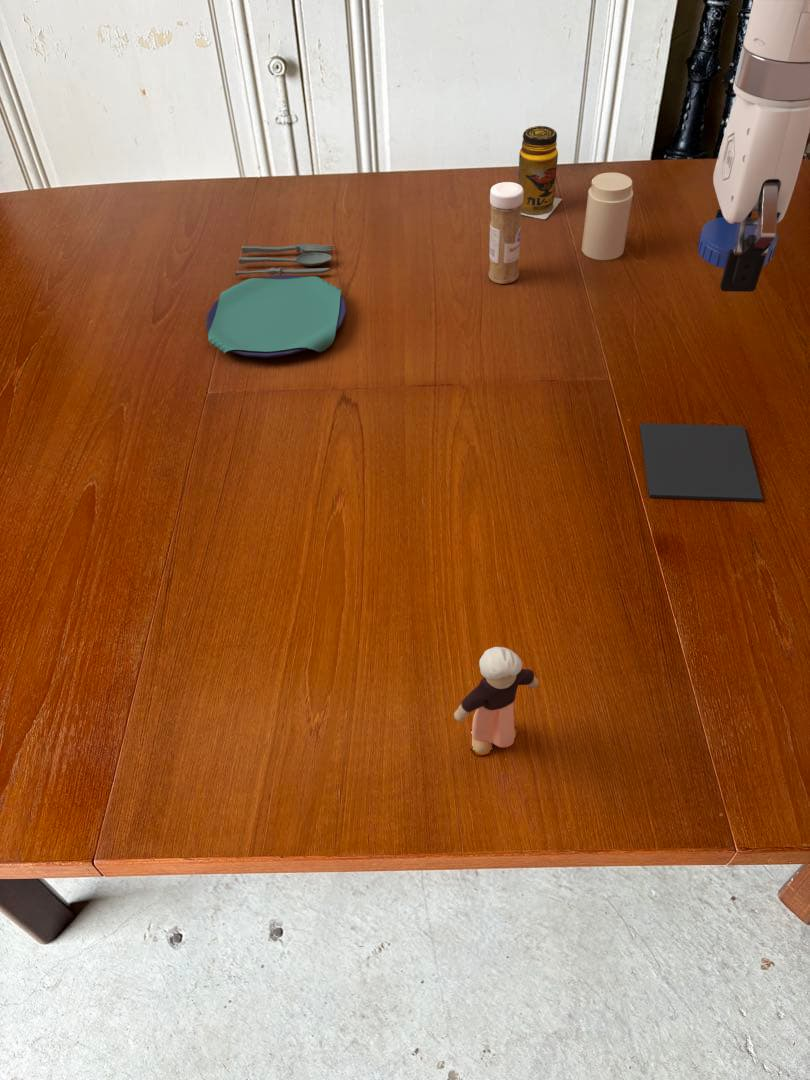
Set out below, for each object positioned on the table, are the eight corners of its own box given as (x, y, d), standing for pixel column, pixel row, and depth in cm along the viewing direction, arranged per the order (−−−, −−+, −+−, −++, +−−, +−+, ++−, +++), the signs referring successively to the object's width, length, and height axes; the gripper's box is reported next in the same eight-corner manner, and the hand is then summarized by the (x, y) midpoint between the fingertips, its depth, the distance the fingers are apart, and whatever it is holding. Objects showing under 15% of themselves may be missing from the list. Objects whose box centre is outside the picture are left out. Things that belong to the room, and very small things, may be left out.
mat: (742, 428, 97) (743, 425, 96) (761, 501, 89) (762, 498, 88) (639, 426, 98) (640, 423, 97) (649, 497, 90) (649, 494, 90)
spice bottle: (518, 285, 119) (523, 196, 109) (487, 285, 120) (489, 196, 110) (518, 268, 122) (523, 180, 112) (488, 268, 123) (490, 180, 113)
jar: (622, 238, 127) (633, 170, 119) (625, 260, 122) (637, 191, 114) (580, 238, 127) (588, 171, 119) (582, 260, 123) (590, 191, 115)
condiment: (545, 220, 132) (552, 144, 122) (497, 210, 134) (500, 135, 125) (562, 200, 136) (569, 125, 127) (515, 191, 139) (519, 117, 130)
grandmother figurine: (476, 774, 70) (479, 699, 60) (449, 742, 72) (447, 664, 62) (543, 725, 72) (556, 645, 63) (515, 695, 75) (523, 614, 65)
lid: (702, 271, 77) (706, 252, 76) (692, 233, 82) (696, 215, 80) (779, 271, 76) (785, 252, 75) (765, 233, 81) (771, 215, 79)
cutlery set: (196, 369, 110) (192, 355, 108) (232, 253, 130) (229, 240, 128) (342, 365, 109) (340, 351, 107) (356, 249, 129) (355, 235, 127)
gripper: (722, 35, 73) (681, 224, 86) (756, 115, 62) (703, 318, 75) (809, 34, 72) (754, 225, 85) (860, 114, 61) (787, 320, 74)
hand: (731, 267), depth 80 cm, fingers closed on lid, 6 cm apart
